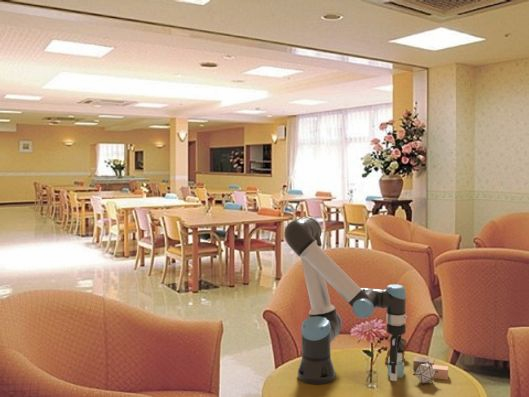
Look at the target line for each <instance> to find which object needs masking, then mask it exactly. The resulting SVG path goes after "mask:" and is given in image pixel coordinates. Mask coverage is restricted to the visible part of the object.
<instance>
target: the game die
mask: <svg viewBox="0 0 529 397" xmlns="http://www.w3.org/2000/svg"><path fill="white" fill-rule="evenodd" d="M436 372H437V373H438V371H435V370H434V369H433V368H432V367H431V366H430V364H429V361H428V363H425V364H419V363H418V367H417V370H415V373H413V374H412V375H413V376H415V377H416V378H417V379H418V380H419V381H420V382H421V386H423V385H424V384H427V383H431V384H434V379H435V378H434V376H435V374H436Z"/></svg>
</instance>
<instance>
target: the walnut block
mask: <svg viewBox="0 0 529 397" xmlns="http://www.w3.org/2000/svg"><path fill="white" fill-rule="evenodd" d="M428 361H429V364H430V366H431V367H432V365H435V358H429V357H421V356H414V358H413V361H412V362H413V363H412V364H413V365H412V366H413V368H412V369H413V370H414V371H416V370H417V367H418V363H419V364H425V363H428Z"/></svg>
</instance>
